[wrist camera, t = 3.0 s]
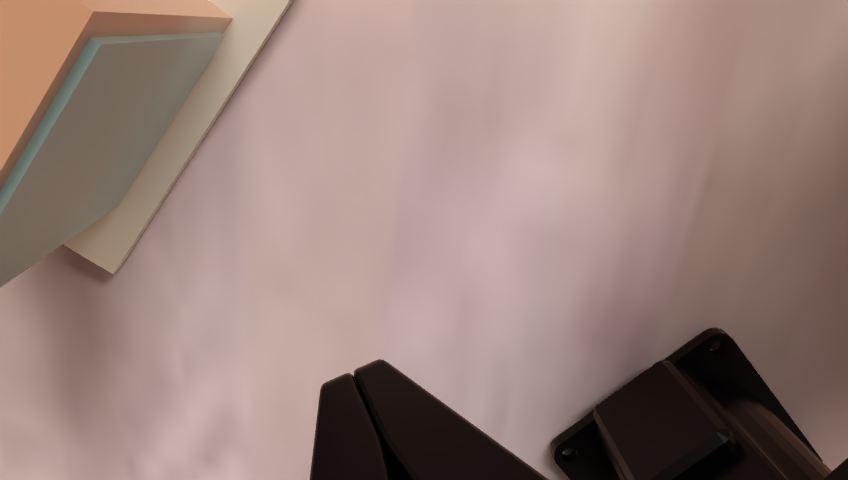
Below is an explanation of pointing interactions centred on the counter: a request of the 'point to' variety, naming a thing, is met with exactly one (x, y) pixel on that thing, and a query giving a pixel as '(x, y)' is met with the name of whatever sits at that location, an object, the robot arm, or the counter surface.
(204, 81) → the mat
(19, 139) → the block
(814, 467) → the robot arm
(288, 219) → the counter surface
